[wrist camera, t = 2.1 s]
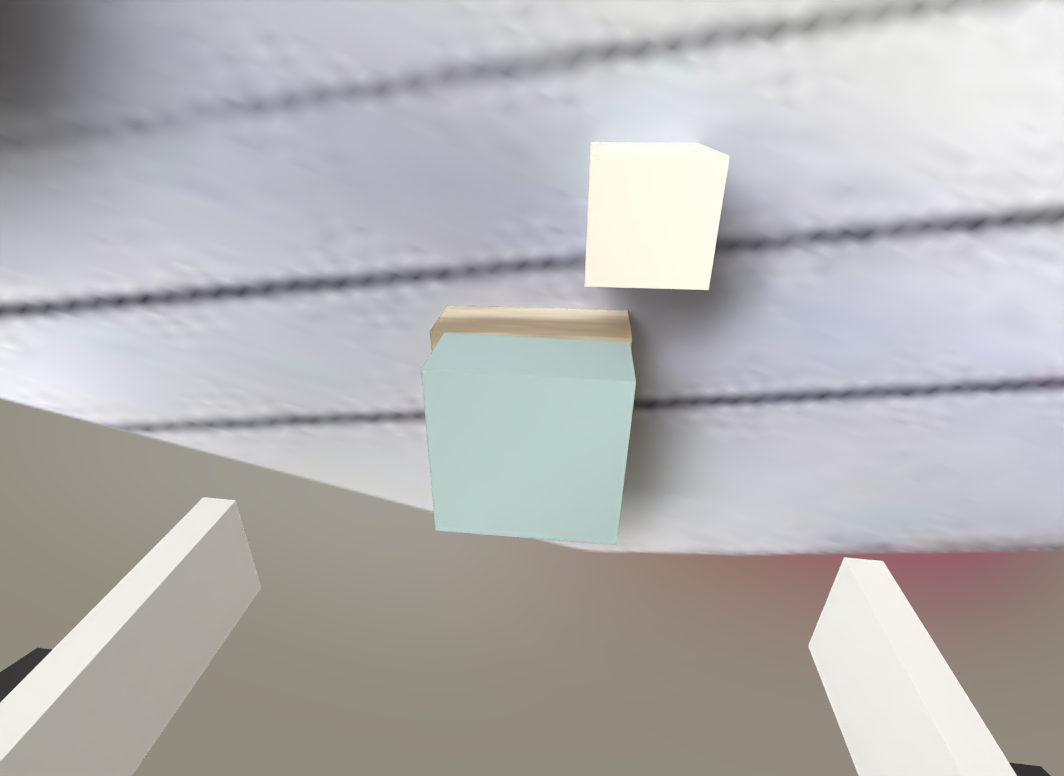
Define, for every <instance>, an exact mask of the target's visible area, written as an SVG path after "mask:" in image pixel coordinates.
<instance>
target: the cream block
mask: <svg viewBox="0 0 1064 776" xmlns="http://www.w3.org/2000/svg"><path fill="white" fill-rule="evenodd" d="M729 158H730V156H728V155H726V154H724V153H721V152H719V151H716V150H714V149H712V148H709V147H707V146H705V145H702V144H700V143H658V142H591V150H590V172H589V194H588V216H587V238H586V263H585V287H620V288H655V289H690V290H709V285H710V279H711V272H712V266H713V260H714V253H715V247H716V240H717V234H718V228H719V221H720V215H721V209H722V202H723V196H724V190H725V183H726V177H727V171H728V164H729Z"/></svg>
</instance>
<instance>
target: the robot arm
mask: <svg viewBox="0 0 1064 776" xmlns="http://www.w3.org/2000/svg"><path fill="white" fill-rule="evenodd" d="M260 589H261V585H260V582H259V579H258V575H257V572H256V568H255V564H254V561H253V558H252V554H251V551H250V547H249V544H248V540H247V537H246V534H245V530H244V527H243V523H242V520H241V516H240V513H239V509H238V506H237V503H236V500H227V499H226V500H225V499H216V498H205V497H204V498H202V499H201V500H200V501H199V502H198V503H197V504H196V506H194V507H193V508H192V509H191V511H190V512H189V513H188V514H187V515H186V516H185V517H184V518H183V519H182V520H181V521H180V522H179V523H178V524H177V525H176V526H175V527H174V528H173V529H172V530H171V531H170V532H169V533H168V534H167V535H166V536H165V537H164V538H163V539H162V540H161V541H160V542H159V543H158V544H157V545H156V546H155V547H154V548H153V549H152V550H151V551H150V552H149V553H148V554H147V555H146V556H145V557H144V558H143V559H142V560H141V561H140V562H139V563H138V564H137V565H136V566H135V567H134V568H133V569H132V570H131V571H130V572H129V573H128V574H127V575H126V576H125V577H124V578H123V579H122V580H121V581H120V582H119V583H118V584H117V585H116V586H115V587H114V588H113V589H112V590H111V591H110V592H109V593H108V595H106V596H105V597H104V598H103V599H102V600H101V601H100V602H99V603H98V605H96V607H94V609H92V610H91V612H90V613H89V614H88V615H87V616H86V617H85V618H84V619H83V620H82V621H81V622H80V623H79V624H78V625H77V626H76V627H75V628H74V629H73V630H72V631H71V632H70V633H69V634H68V635H67V636H66V637H65V638H64V639H63V640H62V641H61V642H60V643H59V644H58V645H57V646H56V647H55V648H54V649H53V650H51V649H43V648H36V649H35V650H34V651H32V652H30V653H29V654H27V655H26V656H24V657H23V658H21V659H20V660H18V661H17V662H15V663H14V664H12V665H11V666H9V667H8V668H6V669H5V670H3V671H2V672H0V776H132V775H133V773H134V772H135V770H136V769H137V767H138V766H139V764H140V763H141V762H142V760H143V759H144V757H145V756H146V754H147V753H148V751H149V750H150V749H151V747H152V746H153V744H154V743H155V741H156V740H157V738H158V737H159V735H160V734H161V733H162V731H163V730H164V728H165V727H166V725H167V724H168V722H169V721H170V719H171V718H172V717H173V715H174V714H175V712H176V711H177V709H178V708H179V706H180V705H181V703H182V702H183V701H184V699H185V697H186V696H187V695H188V693H189V692H190V690H191V689H192V687H193V686H194V685H195V683H196V682H197V680H198V679H199V677H200V676H201V674H202V673H203V672H204V670H205V669H206V667H207V666H208V664H209V663H210V661H211V660H212V658H213V657H214V655H215V654H216V652H217V651H218V650H219V648H220V647H221V645H222V644H223V642H224V641H225V640H226V638H227V637H228V635H229V634H230V632H231V631H232V629H233V628H234V626H235V625H236V623H237V622H238V621H239V619H240V618H241V616H242V615H243V613H244V612H245V610H246V609H247V607H248V606H249V604H250V603H251V602H252V600H253V599H254V597H255V596H256V594H257V593H258V592H259V590H260ZM808 647H809V649H810V652H811V654H812V657H813V659H814V662H815V665H816V667H817V670H818V672H819V675H820V677H821V680H822V683H823V685H824V688H825V690H826V693H827V695H828V698H829V701H830V703H831V706H832V708H833V711H834V713H835V716H836V719H837V721H838V724H839V726H840V728H841V731H842V734H843V736H844V739H845V742H846V744H847V746H848V749H849V752H850V754H851V757H852V760H853V762H854V765H855V767H856V770H857V772H858V775H859V776H1050V775H1049V774H1048V773H1047V772H1046V771H1045V770H1044V769H1043V768H1042V767H1040V766H1031V765H1023V764H1015V763H1009V762H1008V761H1007V759H1006V758H1005V756H1004V754H1003V753H1002V751H1001V750H1000V748H999V746H998V745H997V743H996V741H995V740H994V738H993V737H992V735H991V734H990V732H989V730H988V729H987V727H986V725H985V724H984V722H983V721H982V719H981V717H980V716H979V714H978V713H977V711H976V709H975V708H974V706H973V705H972V703H971V701H970V700H969V698H968V697H967V695H966V693H965V692H964V690H963V689H962V687H961V685H960V684H959V682H958V681H957V679H956V677H955V676H954V674H953V672H952V671H951V669H950V668H949V666H948V665H947V663H946V661H945V660H944V658H943V657H942V655H941V653H940V652H939V650H938V648H937V647H936V645H935V644H934V642H933V641H932V639H931V637H930V636H929V634H928V633H927V631H926V629H925V628H924V626H923V624H922V623H921V621H920V620H919V618H918V616H917V615H916V613H915V612H914V610H913V608H912V607H911V605H910V604H909V602H908V601H907V599H906V597H905V596H904V594H903V592H902V591H901V589H900V587H899V586H898V584H897V583H896V581H895V580H894V578H893V576H892V575H891V573H890V572H889V570H888V568H887V567H886V565H885V563H884V562H883V561H877V560H866V559H855V558H845V557H844V559H843V561H842V564H841V566H840V569H839V571H838V574H837V576H836V579H835V581H834V584H833V586H832V588H831V591H830V593H829V596H828V598H827V601H826V603H825V606H824V608H823V611H822V613H821V616H820V618H819V621H818V623H817V626H816V628H815V631H814V633H813V635H812V638H811V640H810V643H809V645H808Z"/></svg>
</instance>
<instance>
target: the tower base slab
mask: <svg viewBox="0 0 1064 776" xmlns="http://www.w3.org/2000/svg"><path fill="white" fill-rule="evenodd" d="M444 333H461V334H480V335H499V336H518V337H536V338H555V339H574V340H593V341H612V342H630V346H631V348H632V333H631V327H630V321H629V315H628V310H592V309H556V308H520V307H484V306H447V307H446V309H445V310H444V312H443V313H442V314H441V316H440V317H439V319H438V320H437V322H436V323H435V325H434V326H433V327H432V329H431V330H430V339H431V349H432V351H433V350H434V348H435V347H436V345H437V344H438V342H439V340H440V339H441V337H442V336H443V334H444Z"/></svg>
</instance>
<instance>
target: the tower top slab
mask: <svg viewBox="0 0 1064 776" xmlns="http://www.w3.org/2000/svg"><path fill="white" fill-rule="evenodd" d="M421 372H422V383H423V394H424V406H425V417H426V428H427V439H428V450H429V462H430V473H431V484H432V495H433V506H434V518H435V529H436V530H438V531H450V532H462V533H474V534H486V535H498V536H510V537H522V538H534V539H547V540H559V541H571V542H583V543H595V544H607V545H617V536H618V528H619V520H620V512H621V503H622V495H623V487H624V478H625V470H626V462H627V453H628V445H629V437H630V429H631V420H632V412H633V404H634V395H635V387H636V378H635V371H634V365H633V358H632V352H631V346H630V342H612V341H593V340H574V339H555V338H536V337H518V336H499V335H480V334H461V333H444V334H443V336H442V337H441V339H440V340H439V342H438V344H437V345H436V347H435V348H434V350H433V351H432V353H431V355H430V356H429V358H428V359H427V361H426V363H425V364H424V366H423V367H422V369H421Z"/></svg>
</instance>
